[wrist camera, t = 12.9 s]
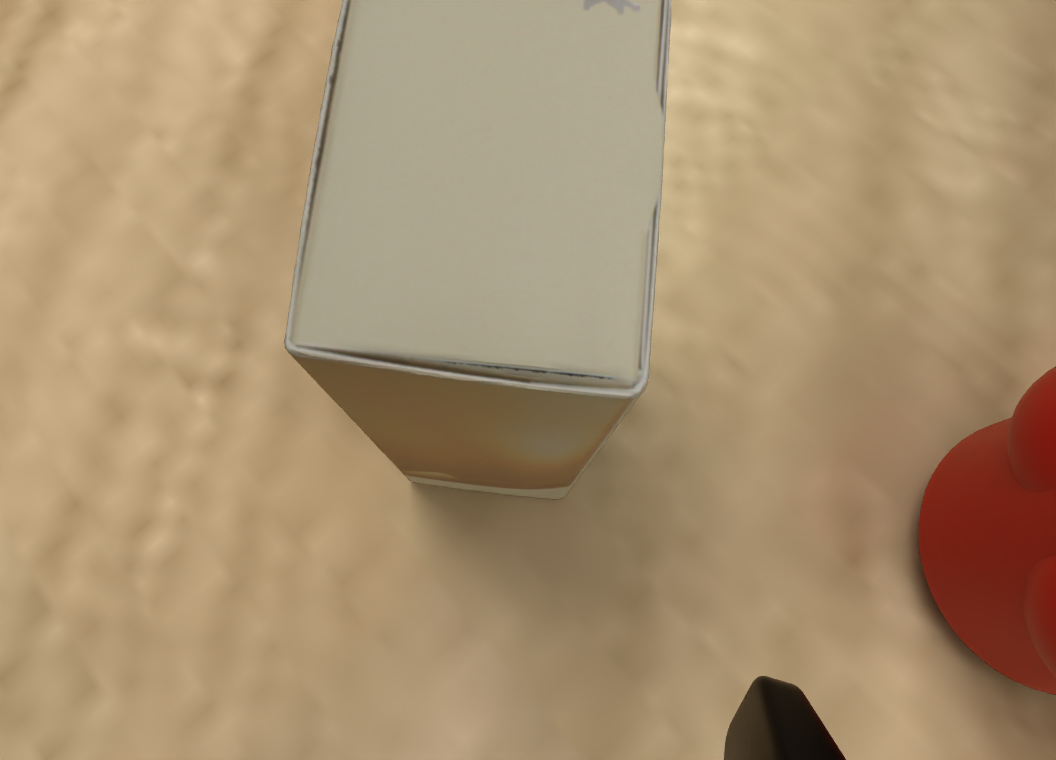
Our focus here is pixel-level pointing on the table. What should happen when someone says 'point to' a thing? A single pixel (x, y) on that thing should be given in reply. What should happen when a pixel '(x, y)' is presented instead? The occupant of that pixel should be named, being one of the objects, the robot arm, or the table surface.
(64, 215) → the table surface
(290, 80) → the table surface
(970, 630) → the red pepper
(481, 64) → the cosmetic box
